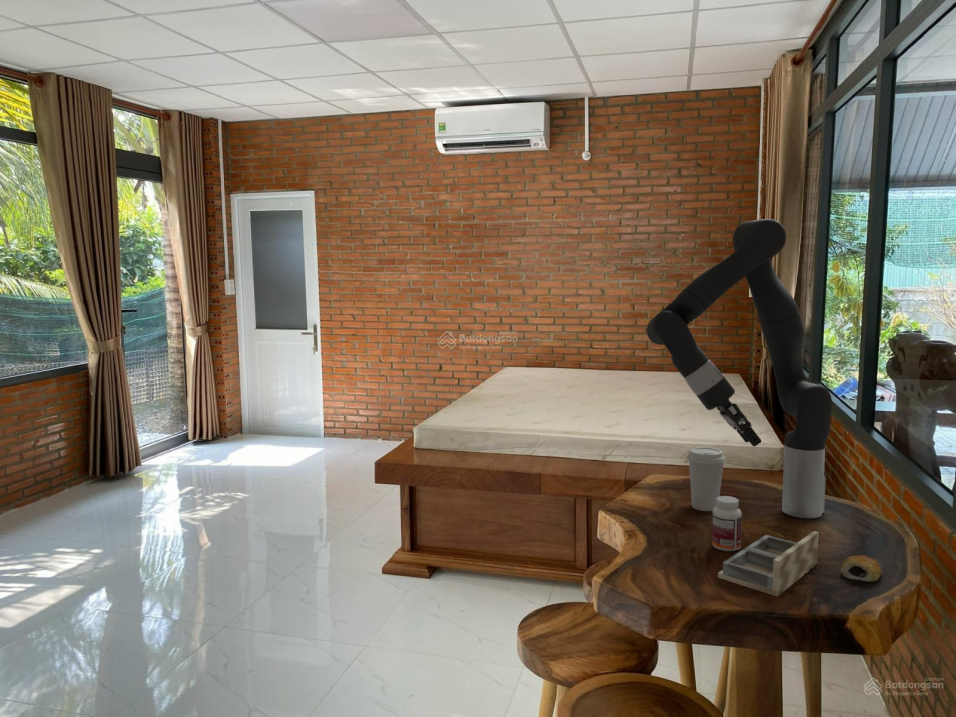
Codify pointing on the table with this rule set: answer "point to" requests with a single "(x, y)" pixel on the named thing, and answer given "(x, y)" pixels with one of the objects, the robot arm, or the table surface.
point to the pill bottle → (727, 524)
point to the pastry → (861, 568)
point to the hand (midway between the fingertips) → (753, 442)
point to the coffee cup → (705, 476)
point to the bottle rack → (772, 563)
